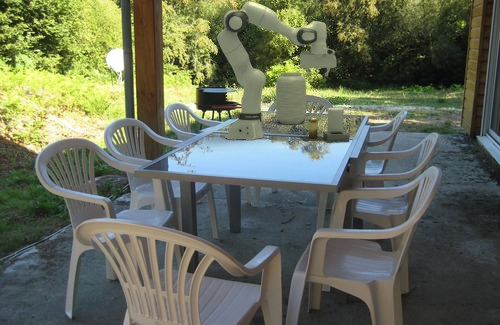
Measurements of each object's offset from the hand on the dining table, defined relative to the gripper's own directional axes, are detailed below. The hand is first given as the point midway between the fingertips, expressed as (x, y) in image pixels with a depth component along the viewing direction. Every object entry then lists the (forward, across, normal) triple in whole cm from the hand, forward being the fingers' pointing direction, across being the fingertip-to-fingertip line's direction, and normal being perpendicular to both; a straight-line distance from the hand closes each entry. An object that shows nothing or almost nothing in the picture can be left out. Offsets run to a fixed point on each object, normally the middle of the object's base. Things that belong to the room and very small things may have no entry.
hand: (318, 76), depth 280 cm
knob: (+34, -4, -9) cm, 35 cm away
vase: (+34, -9, +51) cm, 62 cm away
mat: (+34, -4, -9) cm, 35 cm away
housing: (+34, +8, -15) cm, 38 cm away
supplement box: (+34, +12, +6) cm, 37 cm away
